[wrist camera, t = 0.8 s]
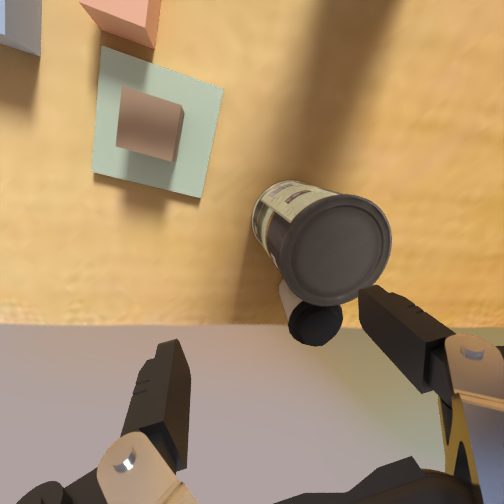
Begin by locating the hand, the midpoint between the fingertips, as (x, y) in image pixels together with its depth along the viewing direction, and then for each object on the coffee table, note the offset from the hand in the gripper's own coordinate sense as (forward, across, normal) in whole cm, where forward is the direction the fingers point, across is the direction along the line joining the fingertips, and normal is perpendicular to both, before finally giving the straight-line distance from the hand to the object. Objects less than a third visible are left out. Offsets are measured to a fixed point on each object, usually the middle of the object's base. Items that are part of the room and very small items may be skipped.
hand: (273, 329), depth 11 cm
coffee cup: (+24, -7, +14) cm, 29 cm away
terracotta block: (+24, +4, -21) cm, 33 cm away
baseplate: (+24, +5, -11) cm, 27 cm away
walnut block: (+23, +5, -11) cm, 26 cm away
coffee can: (+25, -8, +3) cm, 26 cm away
